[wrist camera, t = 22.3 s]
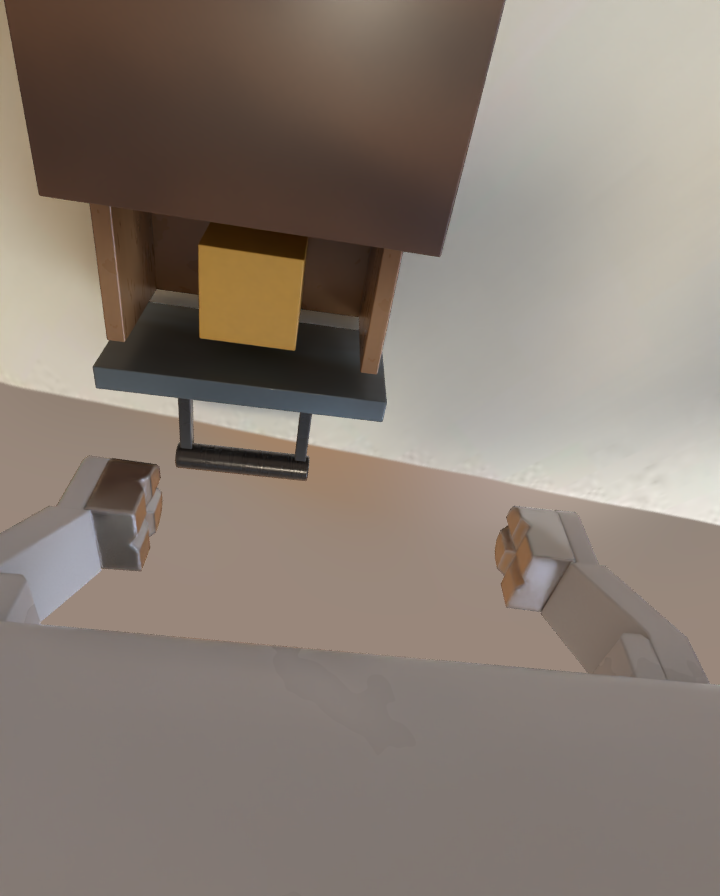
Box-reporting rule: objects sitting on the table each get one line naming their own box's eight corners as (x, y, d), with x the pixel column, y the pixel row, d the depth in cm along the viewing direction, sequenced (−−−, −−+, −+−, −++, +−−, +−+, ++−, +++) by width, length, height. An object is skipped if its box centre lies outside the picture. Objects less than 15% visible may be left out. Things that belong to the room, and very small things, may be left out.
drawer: (361, 426, 37) (364, 502, 32) (143, 401, 35) (108, 476, 30) (438, 51, 24) (463, 74, 19) (106, -13, 23) (35, -8, 18)
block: (310, 224, 28) (304, 260, 24) (301, 308, 31) (295, 351, 27) (216, 209, 27) (197, 244, 24) (215, 296, 30) (198, 338, 27)
